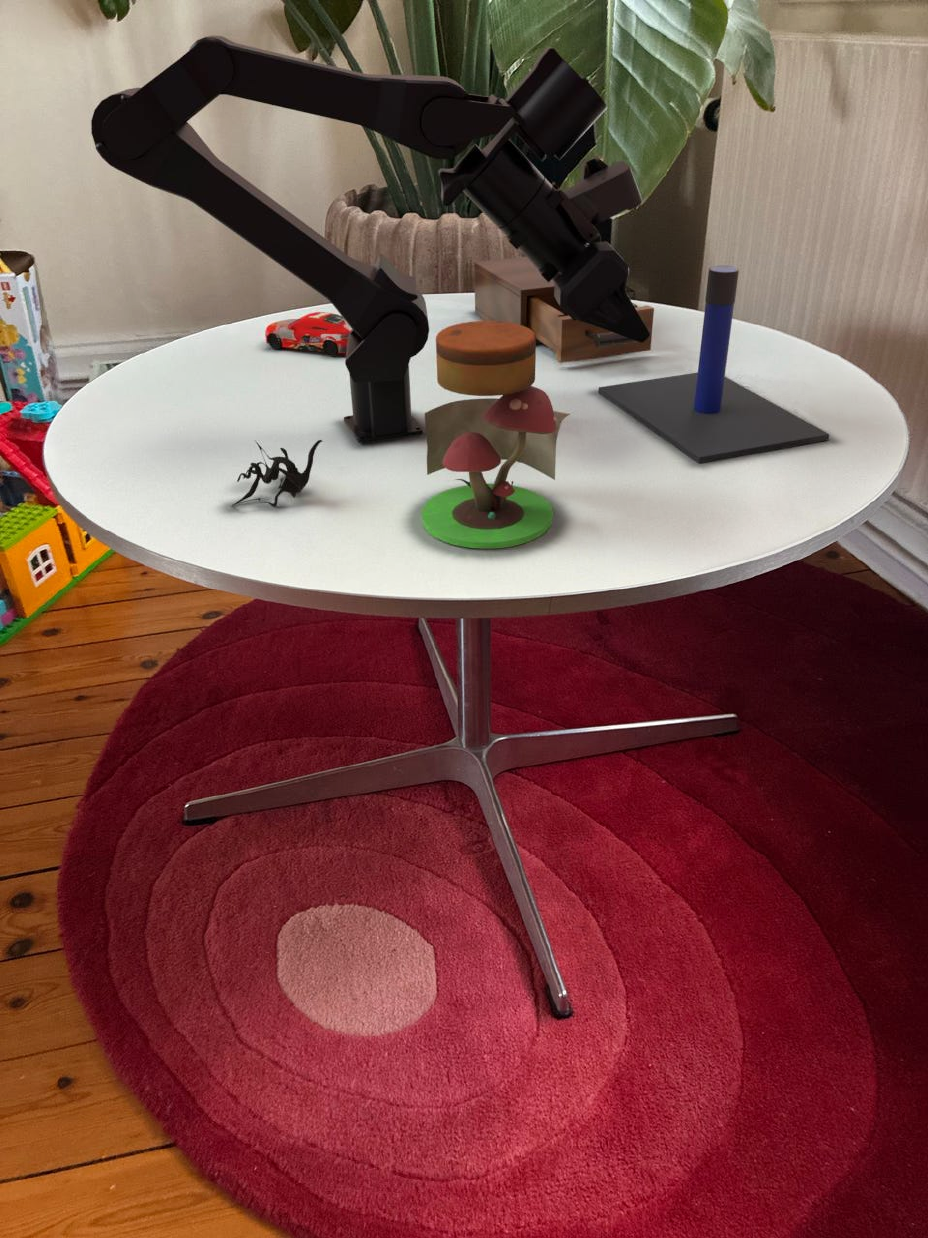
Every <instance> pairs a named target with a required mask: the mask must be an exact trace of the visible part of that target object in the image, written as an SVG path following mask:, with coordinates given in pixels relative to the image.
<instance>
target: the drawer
mask: <svg viewBox="0 0 928 1238" xmlns="http://www.w3.org/2000/svg"><path fill="white" fill-rule="evenodd" d="M632 303H633V305H634V307H635V308H636V310H637V312H638V313H639V315H640V317H641V318H642V320H643V322H644V324H645V325H646V327H647V329H648V330H649V332H650V337H649V338H648V339H646V340H645V341H644V342H643V343H640V342H637V341H635V340H632V339H629V338H627V337H624V336H622V335H619V334H616V333H614V332H611V331H608V330H605V329H603V328H600V327H597V326H594V325H591V324H588V323H585V322H579V321H577V320H576V321H574V320H573V319H572V318H571V317H570V316H569V315H568V314H567V313H566V312H565V311H564V310H563V309H562V308H561V307H560V305H559V304H558V302H557V300H556V298H555V296H554V293H550V294H541V295H533V296H527V316H526V327H527V328H529V329H531V330H532V331H533V332H534V333H535V336H536V339H538V340H539V341H541V342H542V343H541V344H543V345H545V346H546V347H548V348H549V349H551V350H552V351H554V352H555V353H556V354H555V355H556V357H555V358H556V359H555V360H556V361H557V362H559V363H560V364H563V363H569V362H577V361H583V360H591V359H597V358H604V357H612V356H618V355H625V354H632V353H639V352H647V351H651V350H652V349H651V348H652V336H653V327H654V326H653V325H654V314H655V307H652V306H650V305H642V306H638V304H636V303H635V302H632Z"/></svg>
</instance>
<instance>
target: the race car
mask: <svg viewBox="0 0 928 1238" xmlns="http://www.w3.org/2000/svg"><path fill="white" fill-rule="evenodd" d="M352 330H353V329H352V328H351V327H350V326H349V324H348V323H347V322H346V321H345V319H344V318H343V317H342V315H341V314H337V313H332V312H327V311H326V312H325V311H315V312H311V313H310V312H309V313H308V314H305V315H304V316H303V315H302V316H301V317H299V318H291V319H290V318H289V319H284V320H279V321H275V322H272V323H270V324H269V325H267V326H266V328H265V332H264V335H265V343H266V344H268V345H269V347H270V348H271V349H273V350H277V351H278V350H280V349H282V348H286V349H294V350H295V349H296V350H303V351H310V352H311V351H312V352H321V353H323V352H324V353H325V354H326V355H327V356H329V357H335V356H337V355H339V354H346V351H347V342H348V335H349V333H350V332H351V331H352Z"/></svg>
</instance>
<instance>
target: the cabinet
mask: <svg viewBox="0 0 928 1238" xmlns="http://www.w3.org/2000/svg"><path fill="white" fill-rule="evenodd" d="M473 264H474V266H473V267H474V314H476V315H477V316H478V317H479V318H481V319H483V321H501V322H510V323H515V324H519V325H522V326H525V327H526V316H527V296H533V295H541V294H550V293H554V287H555V283H554V281H553V279H552V280H551V281H550V282H548V281H547V280H546V279H545V278H544V277H543V276H542V275H541V274H540V272H539V270H538V269H537V267H536V266H535V265H534V264H533V263H532V262H531V261H530V260H529V259H528V258H527V257H526V256H519V257H509V258H500V259H489V260H482V261H474V263H473ZM537 344H543V343H542V342H541V341H539V340H538V339H536V345H537Z"/></svg>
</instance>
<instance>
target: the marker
mask: <svg viewBox="0 0 928 1238" xmlns="http://www.w3.org/2000/svg"><path fill="white" fill-rule="evenodd" d="M739 274H740V270H739V267H736V266H733V265H712V266H710V267H709V268H708V274H707V282H706V290H705V300H704V301H705V306H704V312H703V313H704V314H703V324H702V332H701V339H700V340H701V342H700V349H699V358H698V367H697V373H698V375H697V384H696V393H695V401H694V410H696V411H697V412H700V413H707V414H711V413H717V412H719V411H720V409H721V401H722V394H723V386H724V378H725V377H726V370H727V362H728V353H729V346H730V339H731V332H732V331H731V330H732V324H733V316H734V308H735V303H736V296H737V288H738V281H739Z"/></svg>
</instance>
